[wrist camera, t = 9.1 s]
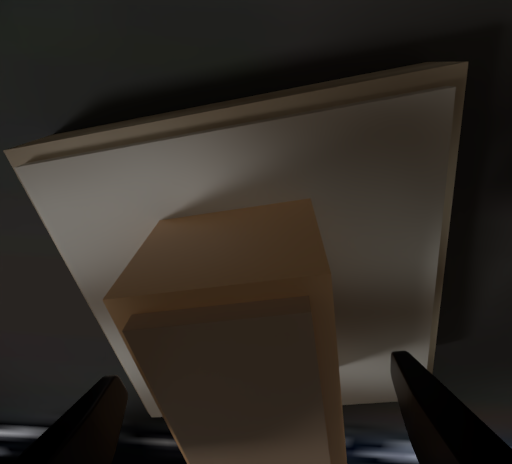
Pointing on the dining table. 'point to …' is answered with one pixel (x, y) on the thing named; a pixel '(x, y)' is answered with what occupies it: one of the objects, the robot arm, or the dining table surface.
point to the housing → (237, 335)
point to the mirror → (278, 198)
